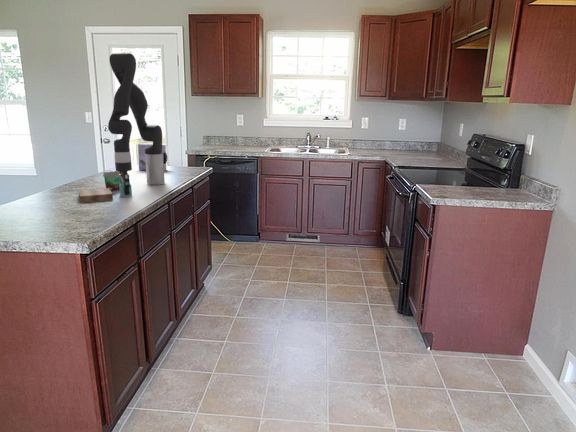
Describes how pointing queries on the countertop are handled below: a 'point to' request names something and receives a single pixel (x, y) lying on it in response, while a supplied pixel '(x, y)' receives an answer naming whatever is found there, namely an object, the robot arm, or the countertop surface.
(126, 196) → the teal block
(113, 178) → the food container
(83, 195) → the walnut base
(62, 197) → the countertop surface
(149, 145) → the cake pan box
